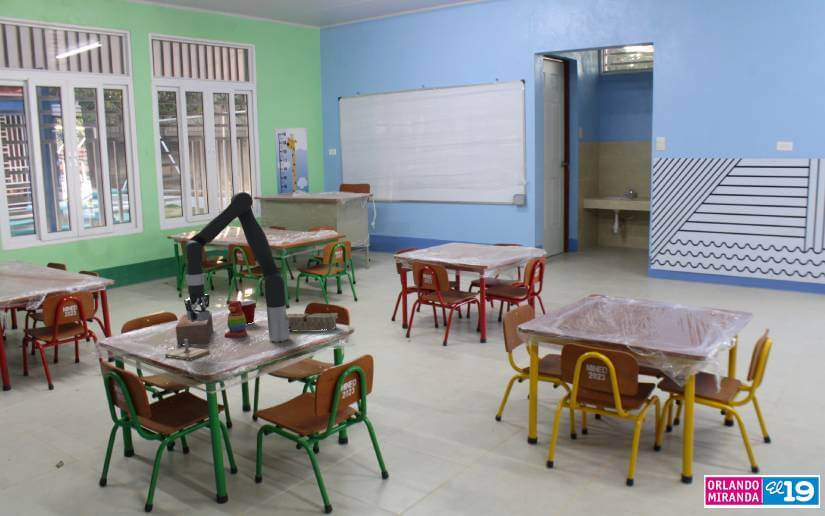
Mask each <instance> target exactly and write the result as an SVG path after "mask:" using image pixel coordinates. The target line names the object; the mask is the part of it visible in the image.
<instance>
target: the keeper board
mask: <svg viewBox="0 0 825 516" xmlns="http://www.w3.org/2000/svg"><path fill="white" fill-rule="evenodd" d="M184 344H185V346H182V347H179V348H177V349H174V350H171V351H168V352H166V353H164V356H171V357H178V358H183V359H188V360H187V361H192V360H191V359H193V360H195V358H196V359H198V358H200V357H203V356H206V355H208V354H210V350H209V349H205V348H204V349H202V348H196V347H189V345H188V339H184ZM183 359H182V360H183Z"/></svg>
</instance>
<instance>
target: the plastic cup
mask: <svg viewBox="0 0 825 516" xmlns="http://www.w3.org/2000/svg"><path fill="white" fill-rule="evenodd" d="M241 304H242V309H241V311H242V312H243V313H244V315H245V318H246V324H248V323H252V322H255V313H256V310H255V309H256V304H257V301H256V300H253V299H252V300H244V301H241Z"/></svg>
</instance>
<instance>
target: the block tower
mask: <svg viewBox="0 0 825 516" xmlns="http://www.w3.org/2000/svg"><path fill="white" fill-rule="evenodd" d="M338 314H339V313H338V312H331V313H312V314H308V313H286V316H287V320H288V321H289V329H290V328H291V330H321V329H323V330H324V329H325V330H326V329H327V330H332V329H333V328H334V327H336V328H337V319H338V318H339V315H338ZM291 330H290V331H291Z"/></svg>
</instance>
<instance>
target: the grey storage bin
mask: <svg viewBox="0 0 825 516" xmlns="http://www.w3.org/2000/svg"><path fill="white" fill-rule="evenodd" d="M186 314H187V320H192V319H191V314H190V312H188V311H186ZM195 314H196V320H193V321H200V322H202V321H205V320H208V319H210V310H207V309H206V310H201V308H200V309H199V308H196V310H195Z"/></svg>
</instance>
